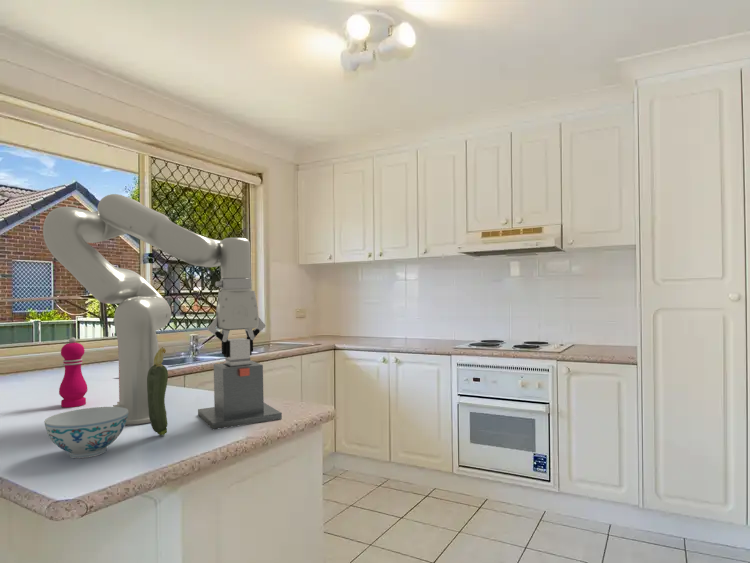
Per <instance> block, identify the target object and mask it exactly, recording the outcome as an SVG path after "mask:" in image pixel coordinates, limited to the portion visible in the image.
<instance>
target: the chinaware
mask: <svg viewBox="0 0 750 563" xmlns="http://www.w3.org/2000/svg"><path fill="white" fill-rule="evenodd" d="M127 417H128V409H126V408H122V407H113V406H96V407H88V408H81V409H79V408H78V409H73V410H67V411H64V412H60V413H56V414H54V415H51V416H49V417H47V418H46V419H45V420H44V422H43V423H44V426H45V430H46V432H47V434H48V437H49V438H50V440H51V441H52V443H53V444H54V445H56V446H57V447H58V448H60V449H61V450H63V451H65V452H67V453H68V454H69V457H70V458H73V459H85V458H91V457H96V456H99V455H102V454H104V453H106V452H107V450H108V446H110V445H112V443H114V442H115V441H116V440H117V438H118V437H119V436H120V435H121V434H122V432H123V430H124V428H125V426H126V425H125V424H126V421H127Z"/></svg>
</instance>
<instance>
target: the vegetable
mask: <svg viewBox="0 0 750 563" xmlns="http://www.w3.org/2000/svg"><path fill="white" fill-rule="evenodd" d="M164 354H166V349H165V347H161V348H159V350H158V353H156V355H155V358H154V365H153V366H152V367H151V368H150V369H149V371H148V375H147V393H148V408H149V418H150V422H149V423H150V425H151V429H152V430H153V431H154V432H155V433H157V435H158V436H165V435H166V434H167V433H168V428H167V427H168V418H167V415H166V414H167V410H166V403H165V401H166V400H165V398H166V397H165V396H166V391H167V386H168V379H169V373H168V372H169V371H168V369H167V367H166V366H165V365H164V364H162V363H164Z"/></svg>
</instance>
